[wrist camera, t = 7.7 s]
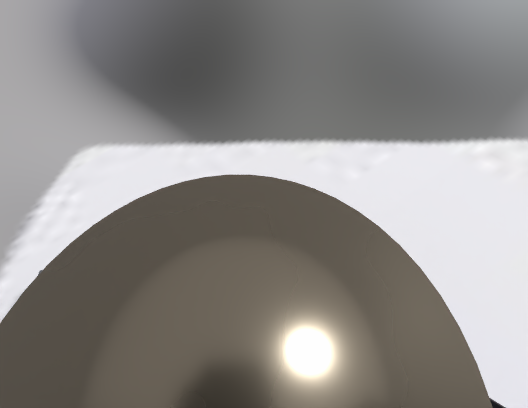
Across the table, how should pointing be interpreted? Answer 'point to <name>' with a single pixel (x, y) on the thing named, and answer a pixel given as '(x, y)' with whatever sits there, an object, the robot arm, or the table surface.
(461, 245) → the table surface
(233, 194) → the gold metal can
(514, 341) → the table surface
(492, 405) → the robot arm
